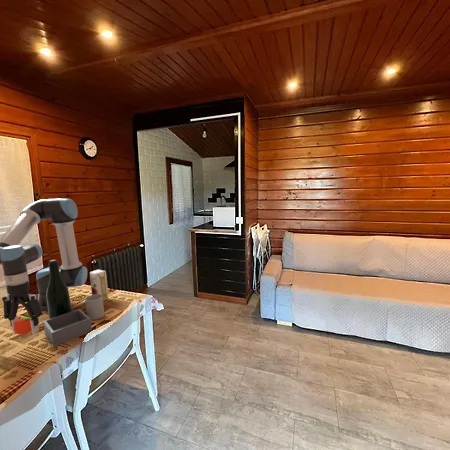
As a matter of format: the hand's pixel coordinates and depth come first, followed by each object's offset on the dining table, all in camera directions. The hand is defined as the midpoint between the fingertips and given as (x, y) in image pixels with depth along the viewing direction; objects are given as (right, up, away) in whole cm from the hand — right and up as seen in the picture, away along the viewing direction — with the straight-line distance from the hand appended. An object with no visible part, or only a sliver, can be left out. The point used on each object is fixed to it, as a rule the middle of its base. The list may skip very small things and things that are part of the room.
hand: (26, 332), depth 109 cm
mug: (+15, -3, +31) cm, 34 cm away
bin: (+10, -6, +14) cm, 18 cm away
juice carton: (+8, -1, +49) cm, 50 cm away
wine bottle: (-1, -5, +25) cm, 26 cm away
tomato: (0, -1, 0) cm, 1 cm away
